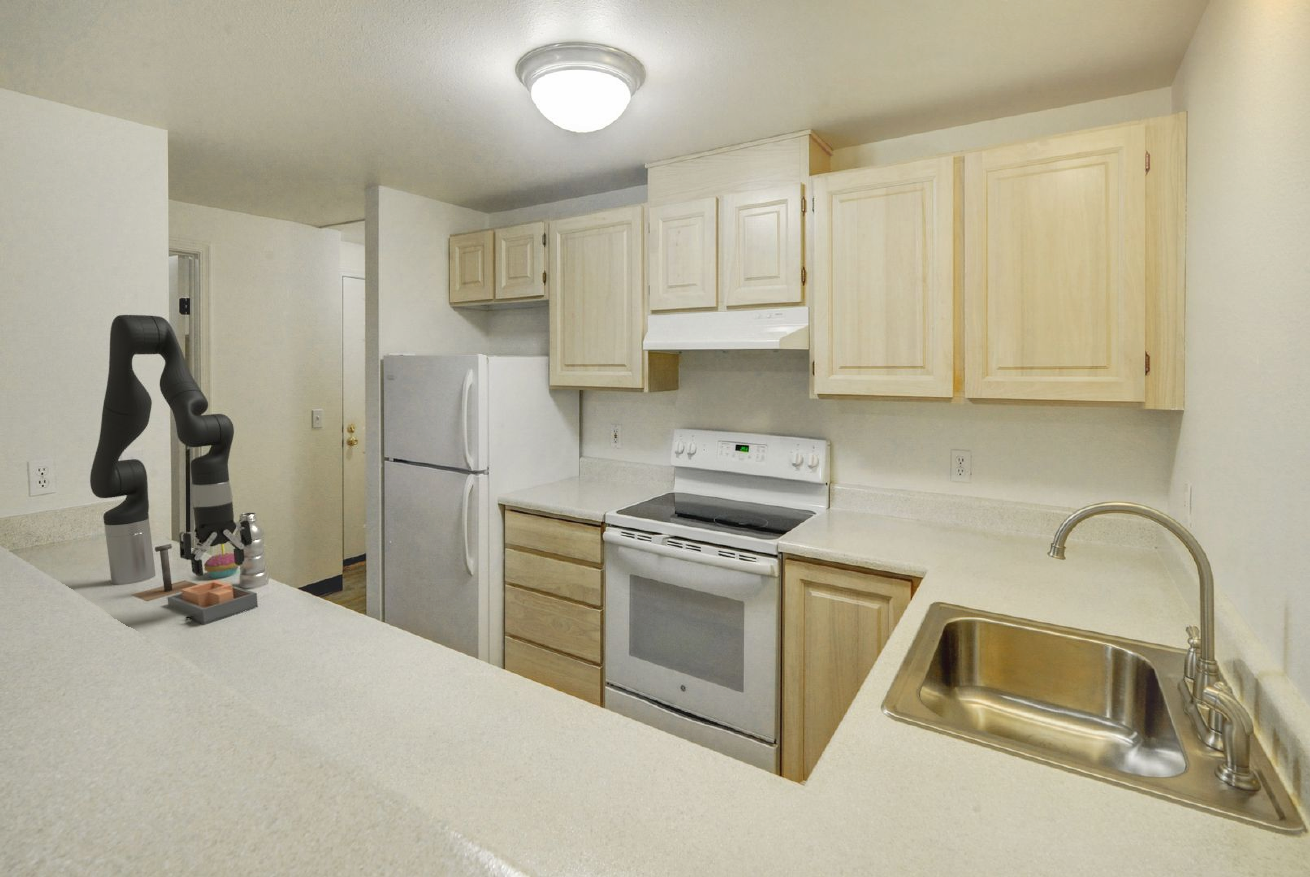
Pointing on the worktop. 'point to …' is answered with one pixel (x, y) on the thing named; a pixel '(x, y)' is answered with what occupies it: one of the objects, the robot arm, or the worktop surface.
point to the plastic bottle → (253, 556)
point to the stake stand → (164, 579)
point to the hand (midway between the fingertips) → (219, 569)
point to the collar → (208, 593)
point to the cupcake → (221, 565)
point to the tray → (216, 606)
